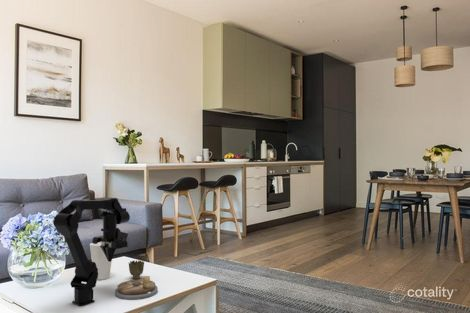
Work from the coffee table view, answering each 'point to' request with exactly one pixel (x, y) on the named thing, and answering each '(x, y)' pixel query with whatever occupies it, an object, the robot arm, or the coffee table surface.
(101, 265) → the cup
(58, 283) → the coffee table surface
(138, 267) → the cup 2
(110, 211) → the robot arm
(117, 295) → the wheel base
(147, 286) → the handwheel
